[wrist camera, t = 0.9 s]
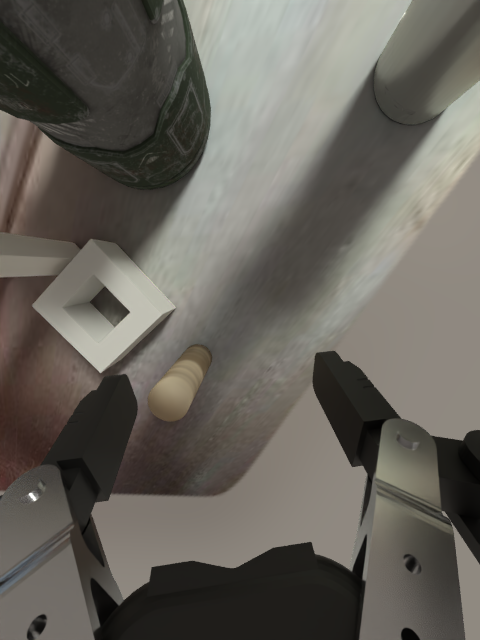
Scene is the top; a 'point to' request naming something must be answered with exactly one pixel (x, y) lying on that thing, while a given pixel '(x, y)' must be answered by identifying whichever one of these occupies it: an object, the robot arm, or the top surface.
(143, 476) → the top surface
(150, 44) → the canister
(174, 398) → the peg
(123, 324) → the kiosk
